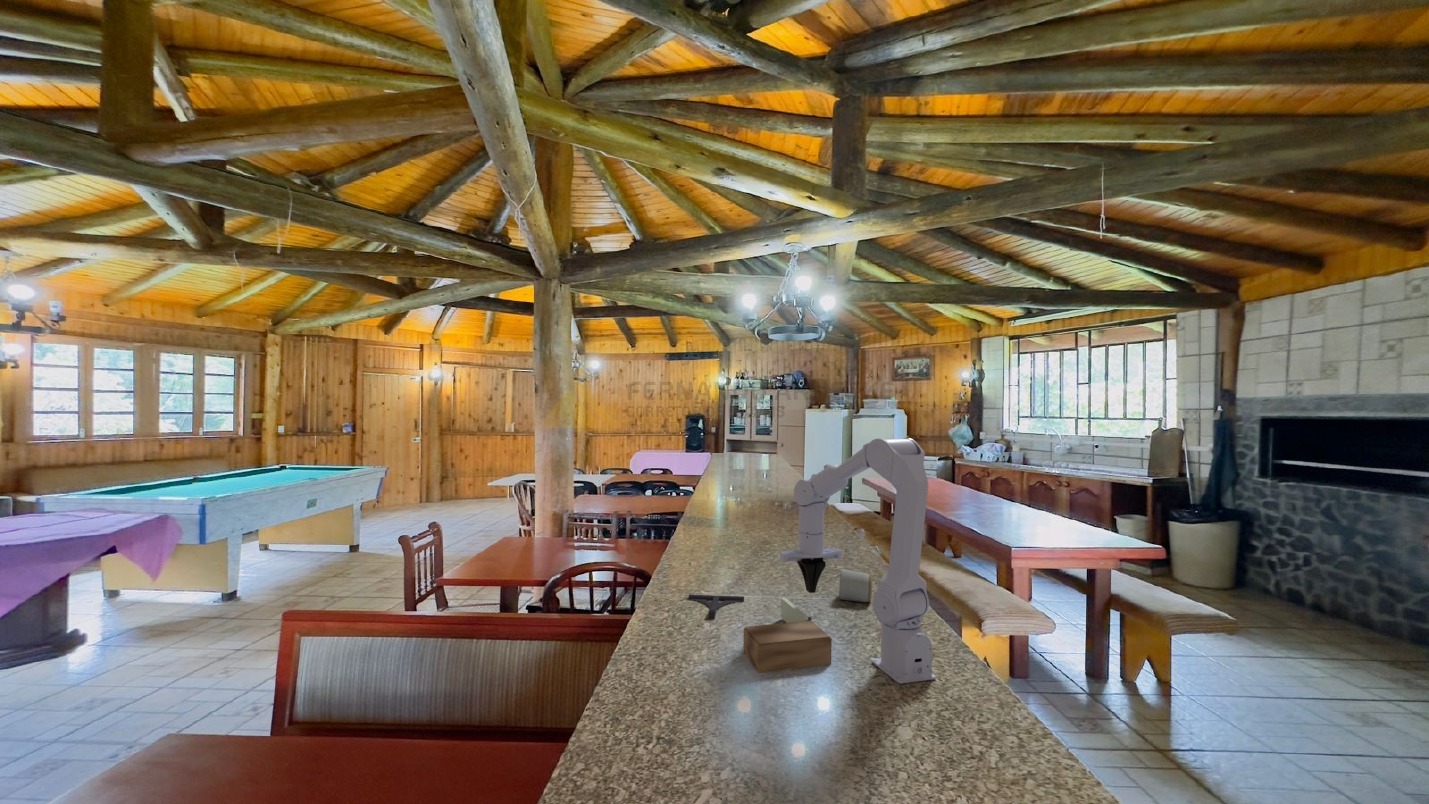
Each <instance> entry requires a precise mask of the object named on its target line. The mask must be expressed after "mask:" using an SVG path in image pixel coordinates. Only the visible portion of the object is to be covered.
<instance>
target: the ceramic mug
mask: <svg viewBox="0 0 1429 804" xmlns="http://www.w3.org/2000/svg"><path fill="white" fill-rule="evenodd" d="M839 575H840V576H839V577H840V578H839V587H838V588H839V589H838V590H839V591H838V598H839V599H840V600H844V601H851V602H857V603H858V602H860V603H869V602H871V601H872V596H873V576H872V575H871V574H868V573H867V572H860V571H856V570H855V571H854V570H849V569H845V568H842V569H841V571H840V574H839Z"/></svg>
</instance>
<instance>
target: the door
mask: <svg viewBox="0 0 1429 804" xmlns="http://www.w3.org/2000/svg"><path fill="white" fill-rule="evenodd" d="M808 617H809V616H808V615H807V614H806V613H804V612H803V611H802V610H801V609H799V608H798V607H797V606H796V605H795V604H794V603H793V602H791V601H790V600H789V599H787V598H786V597H781V598H780V618H781V619H782V620H783V621H784V623H789V622H800V621H808Z"/></svg>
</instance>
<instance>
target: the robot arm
mask: <svg viewBox="0 0 1429 804" xmlns="http://www.w3.org/2000/svg"><path fill="white" fill-rule="evenodd" d="M925 455H926V452H925V451H924V449H923V448H922V446H920V444H918V442H917V441H916V440H915V439H913V438H910V437H903V438H888V439H887V438H886V439H885V438H874V439H871V441H870V442H868V443H865V444H863V446H862V448H861V449H860V450H858V451H857V452H856V453H854V454H853V455H852V456H850V457H849V458H847V459H846V460H845V461H844V462H842V463H841V464H840V465H838V464H835V463H833V464H832V463H827V464H825V465H824V466H823V470H820V471H819V472H818V473H813V474H812V475H811V476H810V478H809V479H799V480H798V481H797V482H796V483H795V485H794V489H793V495H794V499H795V501H796V503H797V504H798V505H799V506H798V509H799V510H798V548H797V549H792V550H786V551H780V552H779V556H780V558H779V559H780V561H781V562H782V563H788V562H795V561H796V563H797V565H798V567H799V569H800V571H801V574H802V576H803V580H804V584H805V591H807V592H808V593H810V594H812V593H813V594H814V593H816V591H817V588H818V587H817V586H818V583H819V580H820V577H821V575H822V573H823V571H824V569H825V568H826V566H827V565H826V561H825V560H830V559H837V560H841V559H842V557H843V556H842V555H843V554H842V553H843V551H842V550H841V549H840V548H825V512H826V510H827V505H828V502H829V500H830V498H831V496H833V495H835V494H837V493H838V492H840V491H842V490H844V489H845V488H846V487H847V486H848V484H849V479H851V478H853V477H855V476H856V475H858V474H861V473H863V472H865V471H866V470H869V469H870V468H871V469H872V470H873V471H874V472H876V473H877V474H878V475H880V476H881V477H882V478H883V479H884V480H886V481H887V482H888V483H889V484H891V485H892V486H893V488H894V489H895V491H896V494H895V503H894V515H893V523H892V532H891V541H890V552H889V559H888V560H889V561H888V570H887V571H886V572H885V574H884V575H883V576H882V577H881V579H880V580H879V581H878V587H877V590H876V591H875V593H874V595H873V598H872V609H873V611H874V614H875V616H876V617H877V619H878V623H880V657H877V658H872V659H871V663H873V664H874V665H875V666H876V667H878V668H879V669H880V670H882V672H884V673H885V674H886V675H888V677H890V678H891V679H892V680H893V681H895V682H896V683H898V684H907V683H917V682H922V681H923V682H924V681H930V680H931V681H932V680H935V679H937V676H936V675H935V674H933V645H932V642H931V641H932V640H930V638H929V637H928V636H927V635H926V634H925V632H924V631H923V629H922V623H923V621H924V620H923V618H924V617H923V616H925V615H926V614H927V613H928V611H929V608H930V600H929V595H928V592H927V588H928V587H927V586H928V585H927V584H928V583H927V581H926V580H925V579H924V578H923V577H921V575H919V574H920V564H921V556H922V548H923V547H922V546H923V537H924V530H925V520H926V512H927V511H926V510H927V502H928V501H927V500H928V492H929V481H928V477H927V471H926V469H925V465H924V464H925V463H924V462H925V457H926V456H925Z"/></svg>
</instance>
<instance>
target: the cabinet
mask: <svg viewBox="0 0 1429 804" xmlns="http://www.w3.org/2000/svg"><path fill="white" fill-rule="evenodd" d="M832 642H833V641H832V637H831V635H829V634H828V633H826V631H824V630H823V629H822V628H821V627H819V626H818V625H817V624H816V623H815V622H814V621H813V620H812V617H811V616H808V621H800V622H789V623H786V622H780V623H772V624H759V625H750V626H744V627H743V649H742V652H743V654H744V656H745V657H746V658H747V659H748V661H749V662H750V664H751V665H752V666H753V668H754V669H755V670H756V671H757V672H758V674H761V673H762V674H763V673H770V672H777V670H778V672H779V670H780V671H786V669H788V670H792V669H793V670H795V669H802V668H803V669H804V668H810V667H811V668H812V667H820V666H828V665H832Z"/></svg>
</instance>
